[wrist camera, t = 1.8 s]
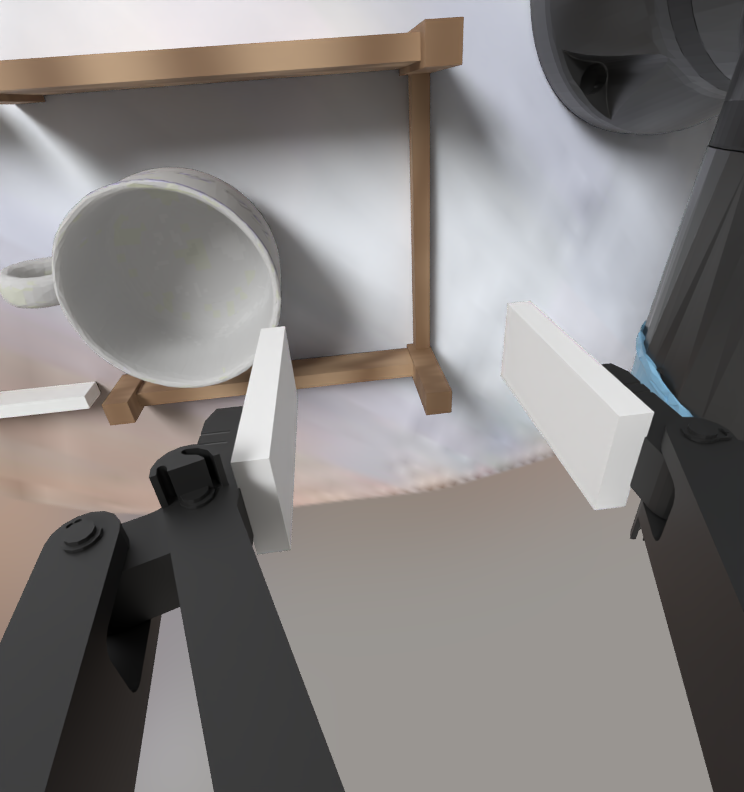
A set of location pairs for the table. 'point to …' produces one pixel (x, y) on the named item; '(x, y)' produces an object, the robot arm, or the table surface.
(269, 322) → the teacup
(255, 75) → the wooden frame
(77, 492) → the table surface
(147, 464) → the table surface
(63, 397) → the holder
